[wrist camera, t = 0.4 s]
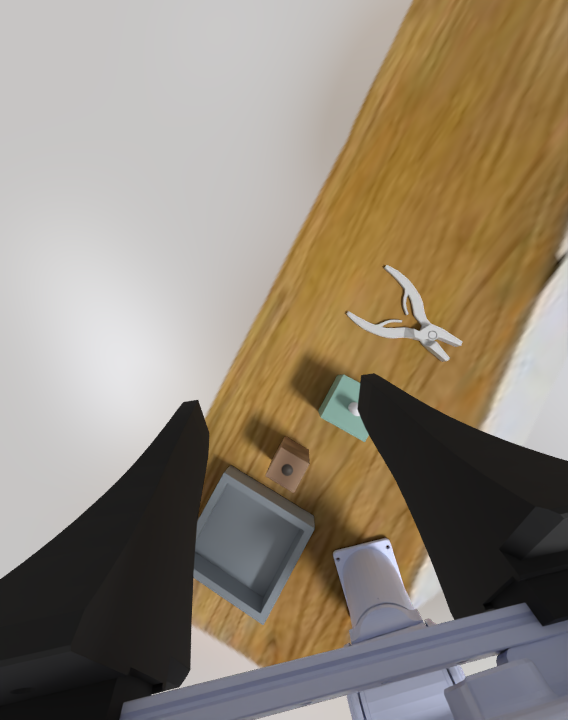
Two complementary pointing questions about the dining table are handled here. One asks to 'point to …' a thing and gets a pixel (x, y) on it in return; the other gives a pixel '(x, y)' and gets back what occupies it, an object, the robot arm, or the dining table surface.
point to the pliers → (427, 329)
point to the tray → (249, 543)
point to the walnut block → (289, 464)
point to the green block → (344, 407)
